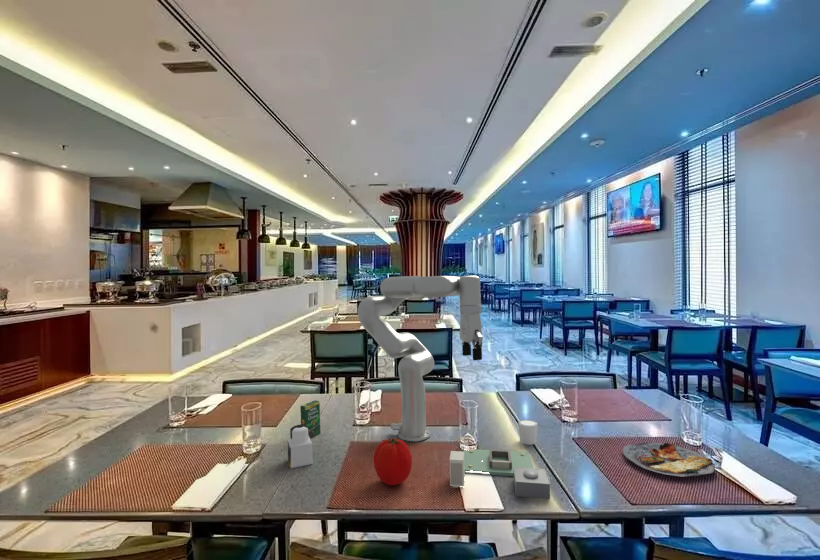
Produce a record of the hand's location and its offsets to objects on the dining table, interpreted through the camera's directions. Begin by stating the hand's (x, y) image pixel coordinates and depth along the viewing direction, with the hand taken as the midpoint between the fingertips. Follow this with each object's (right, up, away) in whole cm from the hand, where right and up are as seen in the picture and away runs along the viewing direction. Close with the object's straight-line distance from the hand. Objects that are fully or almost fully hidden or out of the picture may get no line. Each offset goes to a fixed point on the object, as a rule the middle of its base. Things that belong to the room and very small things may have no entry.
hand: (472, 357), depth 145 cm
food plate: (+61, -32, -15) cm, 70 cm away
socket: (+7, -32, -14) cm, 36 cm away
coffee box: (-61, -34, +13) cm, 71 cm away
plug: (-8, -32, -25) cm, 42 cm away
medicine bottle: (-59, -34, -9) cm, 69 cm away
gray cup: (+22, -32, +5) cm, 39 cm away
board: (+6, -32, -13) cm, 35 cm away
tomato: (-27, -33, -24) cm, 49 cm away
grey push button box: (+12, -32, -29) cm, 45 cm away
